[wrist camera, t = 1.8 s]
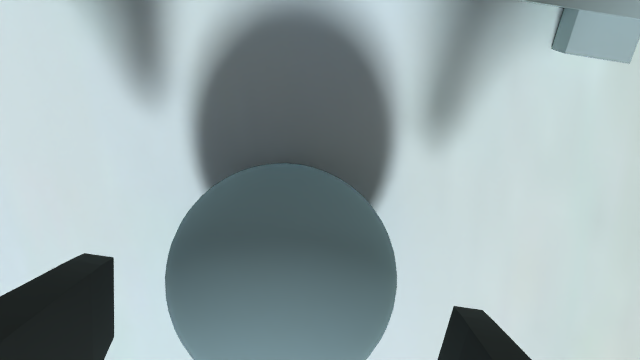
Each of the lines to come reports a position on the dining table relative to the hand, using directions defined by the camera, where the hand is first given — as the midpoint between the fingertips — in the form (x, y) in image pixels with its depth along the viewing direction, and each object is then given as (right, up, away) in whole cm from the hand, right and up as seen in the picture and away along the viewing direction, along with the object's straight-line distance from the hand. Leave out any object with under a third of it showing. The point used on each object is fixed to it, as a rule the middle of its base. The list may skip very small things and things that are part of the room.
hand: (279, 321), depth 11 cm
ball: (0, +1, +2) cm, 2 cm away
